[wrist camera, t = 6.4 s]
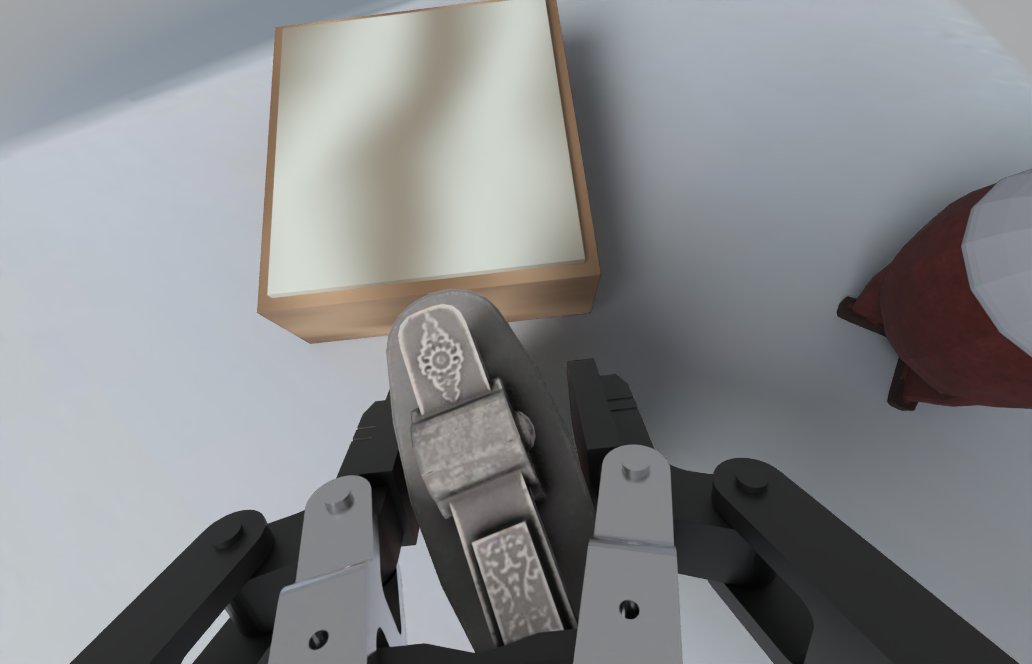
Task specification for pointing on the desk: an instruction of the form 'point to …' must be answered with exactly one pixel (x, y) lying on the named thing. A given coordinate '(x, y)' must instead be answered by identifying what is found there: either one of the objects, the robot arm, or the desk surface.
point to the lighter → (488, 470)
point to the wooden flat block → (423, 169)
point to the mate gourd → (960, 303)
